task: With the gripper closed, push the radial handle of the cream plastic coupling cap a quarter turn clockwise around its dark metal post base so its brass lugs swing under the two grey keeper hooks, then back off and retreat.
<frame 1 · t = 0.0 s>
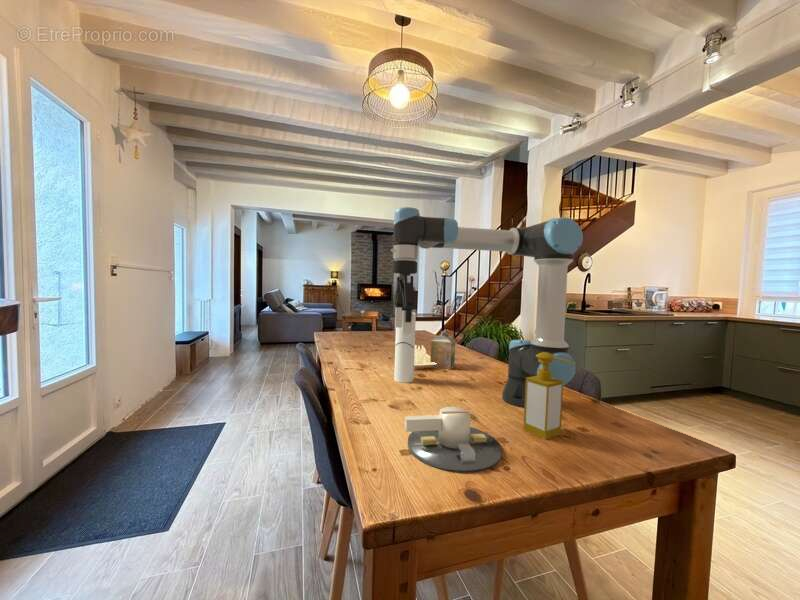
hand: (402, 330, 100), 28 cm above the table, fingers open, 13 cm apart
post base: (453, 446, 86), on the table
container: (403, 380, 145), on the table
milk carton: (442, 367, 172), on the table
soap bottle: (550, 436, 94), on the table
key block: (446, 426, 85), point 5 cm above the table, hinge at 0.0°
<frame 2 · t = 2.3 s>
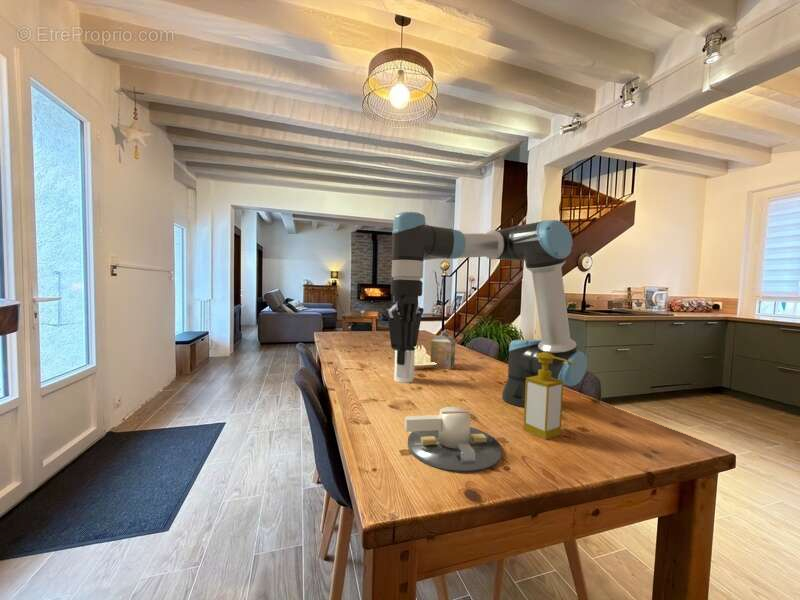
hand: (403, 377, 79), 20 cm above the table, fingers closed
nothing on the table moved.
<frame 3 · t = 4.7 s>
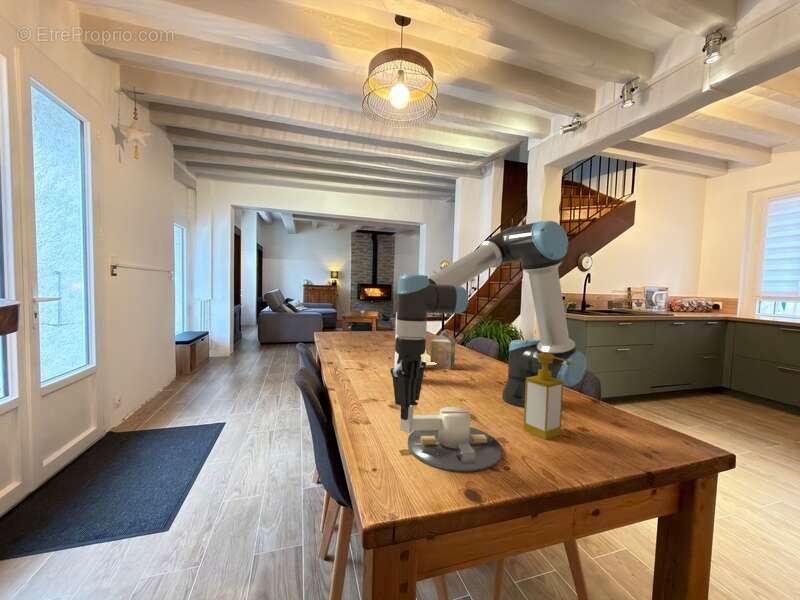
hand: (406, 430, 82), 5 cm above the table, fingers closed
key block: (446, 426, 85), point 5 cm above the table, hinge at 3.0°, touching gripper
everything else where it was.
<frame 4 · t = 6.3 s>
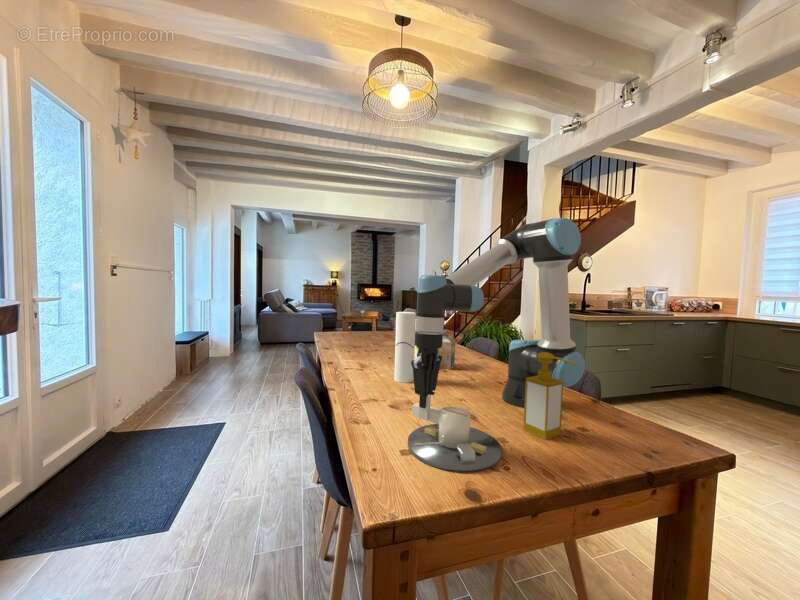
hand: (423, 418, 89), 6 cm above the table, fingers closed
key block: (447, 423, 87), point 5 cm above the table, hinge at 49.7°, touching gripper
everything else where it was.
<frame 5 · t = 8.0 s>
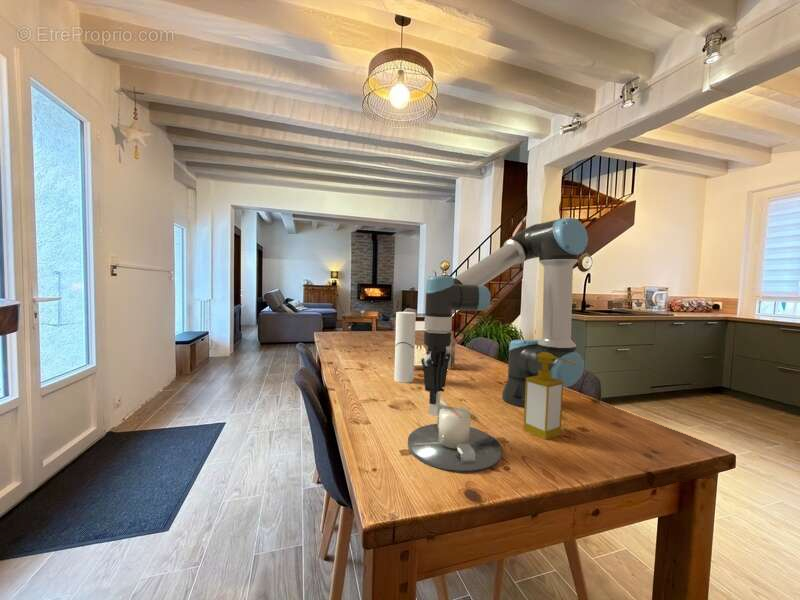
hand: (434, 414, 92), 6 cm above the table, fingers closed
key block: (451, 422, 87), point 5 cm above the table, hinge at 85.6°, touching gripper
everything else where it was.
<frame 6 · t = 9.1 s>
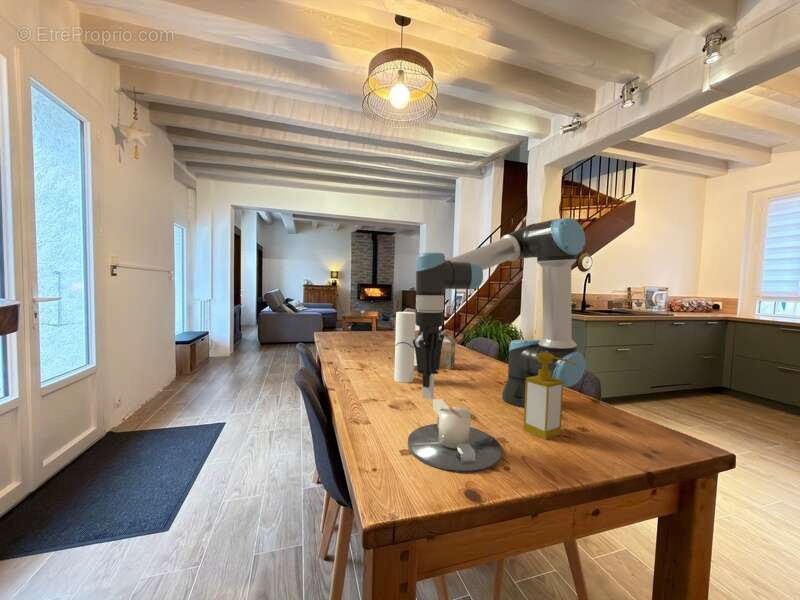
hand: (428, 397, 89), 11 cm above the table, fingers closed
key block: (451, 422, 87), point 5 cm above the table, hinge at 85.6°
everything else where it was.
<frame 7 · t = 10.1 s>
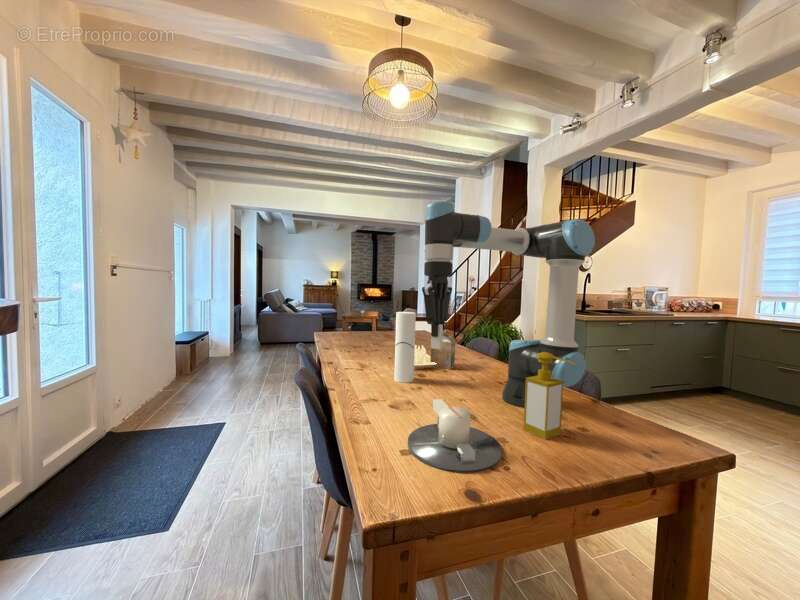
hand: (436, 348, 89), 25 cm above the table, fingers closed
nothing on the table moved.
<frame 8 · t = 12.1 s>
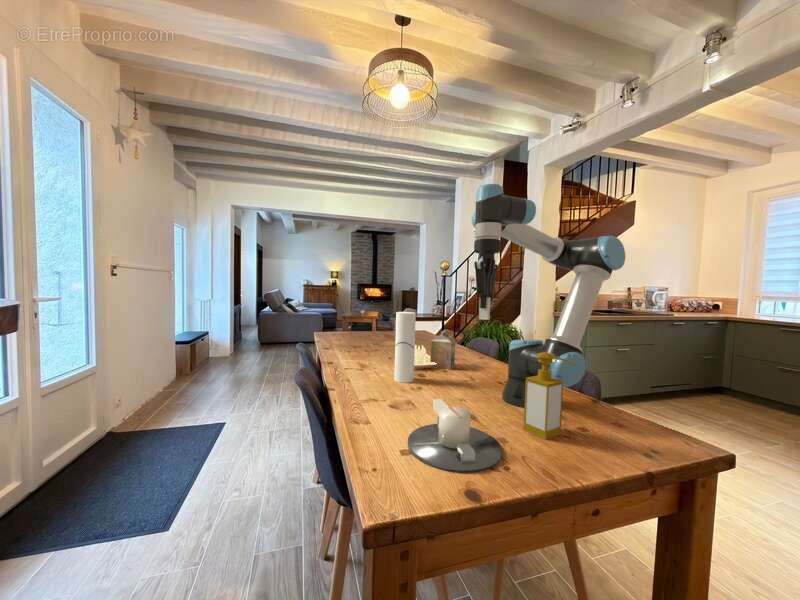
hand: (484, 319, 97), 32 cm above the table, fingers closed
nothing on the table moved.
at the end: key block at +86° (first picture: +0°); the gripper is holding nothing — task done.
